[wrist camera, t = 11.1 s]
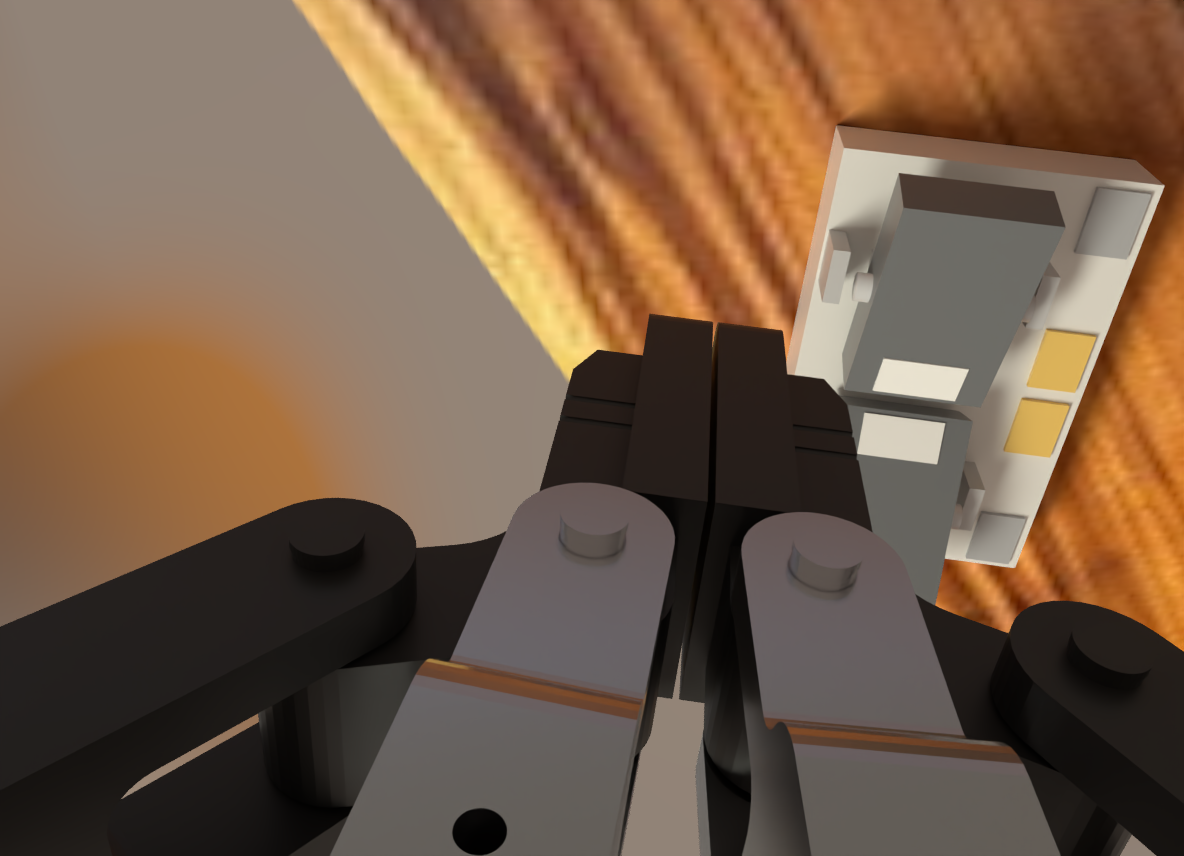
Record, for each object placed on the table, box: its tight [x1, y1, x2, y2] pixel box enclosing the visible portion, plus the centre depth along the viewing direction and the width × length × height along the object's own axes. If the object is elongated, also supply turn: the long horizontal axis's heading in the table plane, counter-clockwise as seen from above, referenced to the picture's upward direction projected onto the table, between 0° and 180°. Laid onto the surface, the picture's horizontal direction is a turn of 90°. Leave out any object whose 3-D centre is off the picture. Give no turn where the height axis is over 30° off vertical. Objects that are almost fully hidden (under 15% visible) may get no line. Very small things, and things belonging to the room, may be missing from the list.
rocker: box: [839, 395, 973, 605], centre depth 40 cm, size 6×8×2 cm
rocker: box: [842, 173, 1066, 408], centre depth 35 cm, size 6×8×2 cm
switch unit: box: [786, 125, 1165, 568], centre depth 40 cm, size 11×17×5 cm, turn 175°
